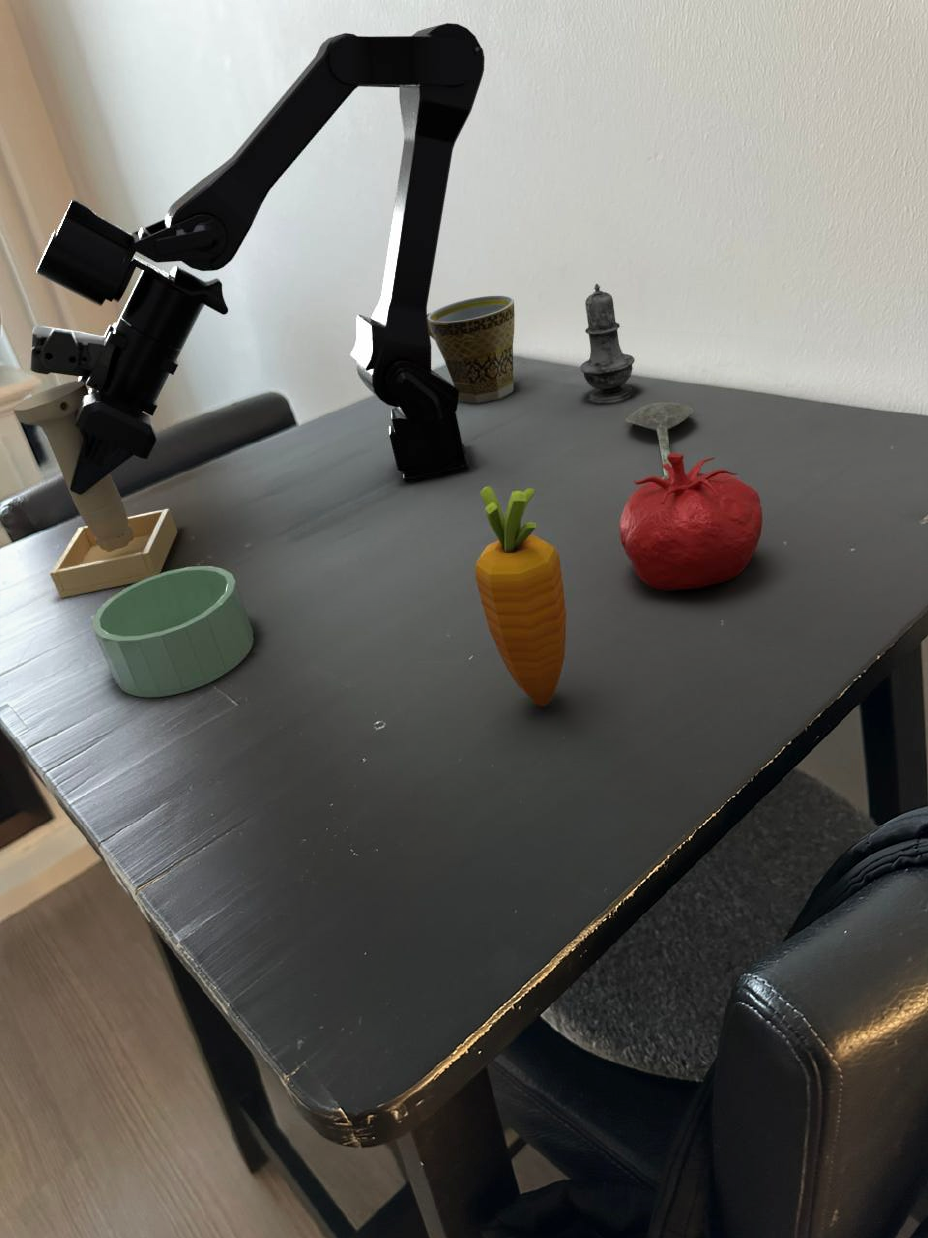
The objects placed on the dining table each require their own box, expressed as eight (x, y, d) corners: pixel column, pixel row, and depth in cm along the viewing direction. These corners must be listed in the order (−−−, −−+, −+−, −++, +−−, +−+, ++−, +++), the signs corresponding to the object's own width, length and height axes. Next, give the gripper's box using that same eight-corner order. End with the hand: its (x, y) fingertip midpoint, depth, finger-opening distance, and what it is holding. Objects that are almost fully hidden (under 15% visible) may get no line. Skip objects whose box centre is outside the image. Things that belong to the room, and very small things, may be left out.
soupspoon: (694, 417, 103) (629, 429, 105) (690, 384, 102) (624, 397, 103) (709, 501, 84) (628, 514, 86) (703, 462, 83) (622, 477, 84)
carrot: (500, 692, 67) (454, 480, 59) (575, 676, 66) (539, 462, 59) (509, 736, 62) (461, 514, 55) (590, 720, 62) (552, 494, 55)
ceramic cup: (545, 381, 120) (531, 295, 115) (489, 412, 115) (472, 323, 110) (466, 374, 129) (450, 294, 124) (410, 403, 123) (391, 320, 118)
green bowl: (261, 608, 84) (242, 555, 81) (245, 680, 74) (224, 621, 72) (133, 635, 84) (111, 582, 82) (101, 709, 75) (75, 652, 72)
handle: (159, 533, 97) (93, 382, 89) (99, 565, 94) (25, 412, 86) (136, 525, 100) (70, 379, 93) (77, 556, 97) (4, 407, 90)
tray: (177, 531, 102) (169, 508, 101) (158, 577, 93) (148, 552, 92) (88, 550, 103) (78, 527, 101) (60, 598, 94) (49, 573, 92)
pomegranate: (769, 599, 70) (762, 473, 65) (622, 610, 72) (605, 490, 68) (760, 533, 78) (753, 418, 73) (628, 545, 81) (614, 434, 76)
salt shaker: (636, 400, 108) (623, 286, 103) (581, 407, 110) (565, 295, 104) (639, 382, 113) (627, 272, 107) (586, 389, 115) (571, 280, 109)
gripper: (63, 270, 94) (-6, 419, 98) (56, 303, 78) (-26, 479, 82) (177, 331, 99) (107, 470, 103) (192, 373, 83) (108, 535, 87)
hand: (75, 485), depth 94 cm, fingers closed on handle, 3 cm apart
